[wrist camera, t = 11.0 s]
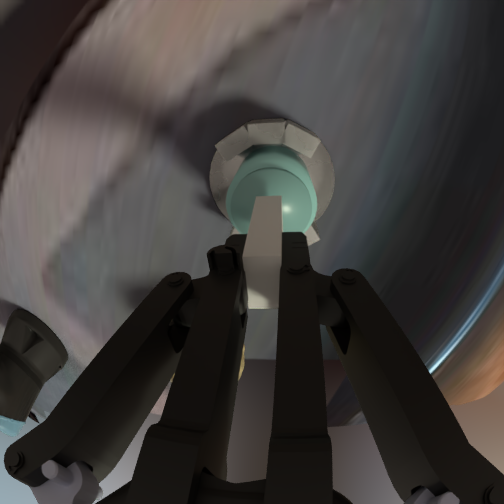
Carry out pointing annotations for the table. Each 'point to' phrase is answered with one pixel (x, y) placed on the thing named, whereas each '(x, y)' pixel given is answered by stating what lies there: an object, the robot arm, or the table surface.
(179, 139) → the table surface
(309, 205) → the teal rounded cylinder
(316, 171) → the grey ring-shaped piece
